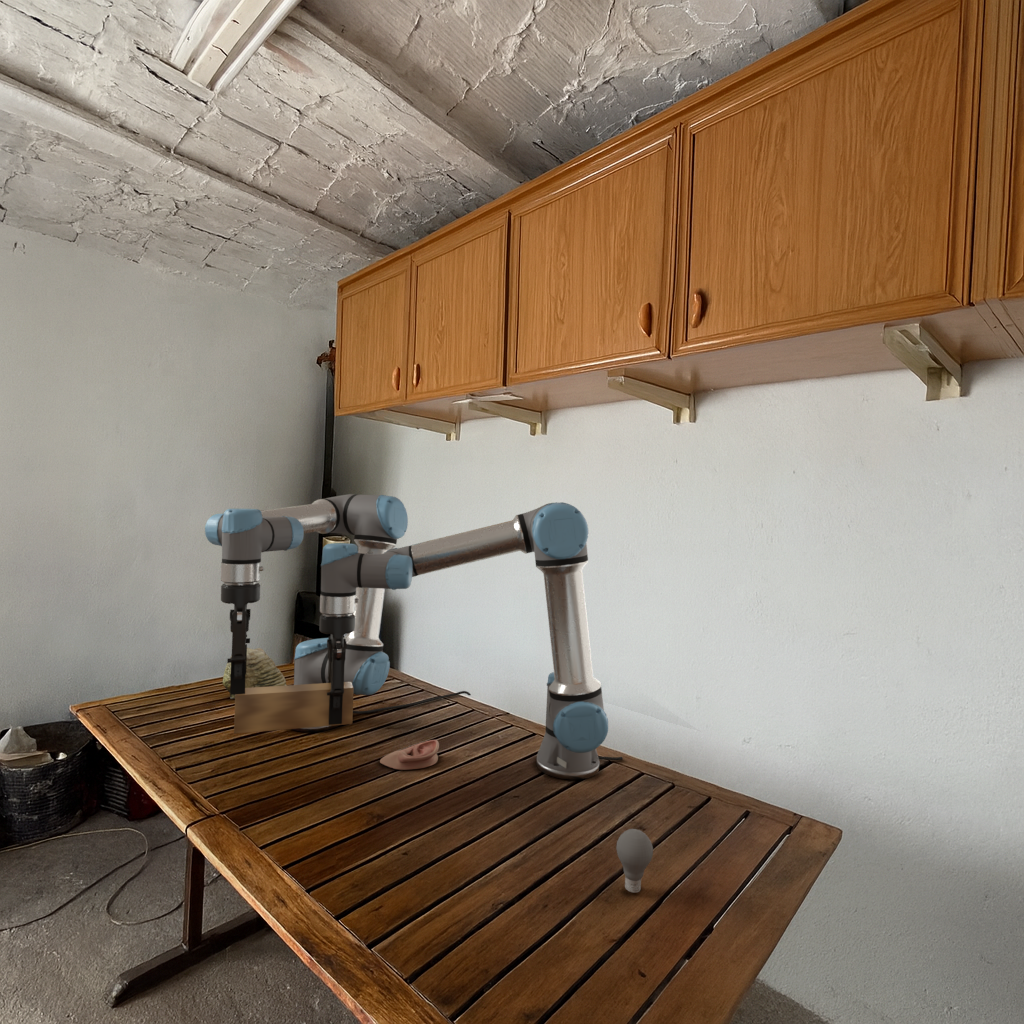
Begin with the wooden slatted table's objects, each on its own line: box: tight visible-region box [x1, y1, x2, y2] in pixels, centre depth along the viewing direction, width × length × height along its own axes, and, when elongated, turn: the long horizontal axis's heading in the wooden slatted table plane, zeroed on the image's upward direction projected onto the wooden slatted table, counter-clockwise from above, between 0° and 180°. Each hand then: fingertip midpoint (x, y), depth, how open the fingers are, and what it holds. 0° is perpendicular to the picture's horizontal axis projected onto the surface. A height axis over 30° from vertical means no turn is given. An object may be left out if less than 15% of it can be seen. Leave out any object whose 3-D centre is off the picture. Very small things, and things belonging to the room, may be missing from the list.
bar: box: [233, 682, 354, 735], centre depth 136 cm, size 24×5×8 cm, turn 110°
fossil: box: [222, 647, 287, 699], centre depth 198 cm, size 9×18×15 cm, turn 132°
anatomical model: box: [379, 739, 440, 771], centre depth 154 cm, size 13×4×12 cm
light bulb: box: [615, 828, 654, 894], centre depth 106 cm, size 6×6×10 cm
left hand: (238, 683), depth 132 cm, fingers open, 13 cm apart
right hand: (334, 719), depth 139 cm, fingers closed on bar, 5 cm apart
